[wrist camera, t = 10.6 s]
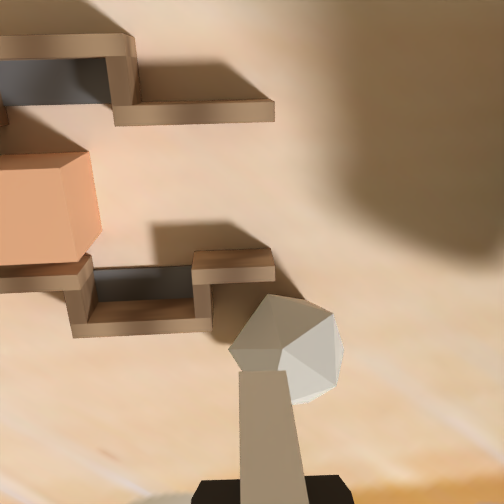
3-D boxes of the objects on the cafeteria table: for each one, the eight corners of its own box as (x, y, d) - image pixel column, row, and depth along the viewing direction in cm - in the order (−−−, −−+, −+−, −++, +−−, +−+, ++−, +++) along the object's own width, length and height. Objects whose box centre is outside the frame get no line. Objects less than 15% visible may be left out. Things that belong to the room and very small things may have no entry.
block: (89, 151, 31) (59, 168, 26) (102, 230, 34) (78, 261, 28) (3, 154, 31) (-45, 172, 26) (22, 234, 33) (-18, 266, 28)
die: (247, 371, 40) (326, 443, 34) (189, 344, 34) (274, 426, 27) (298, 298, 41) (385, 354, 34) (251, 258, 34) (348, 317, 28)
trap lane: (269, 34, 29) (279, 25, 23) (270, 305, 37) (278, 347, 31) (-74, 42, 28) (-148, 34, 23) (2, 318, 36) (-39, 363, 30)
